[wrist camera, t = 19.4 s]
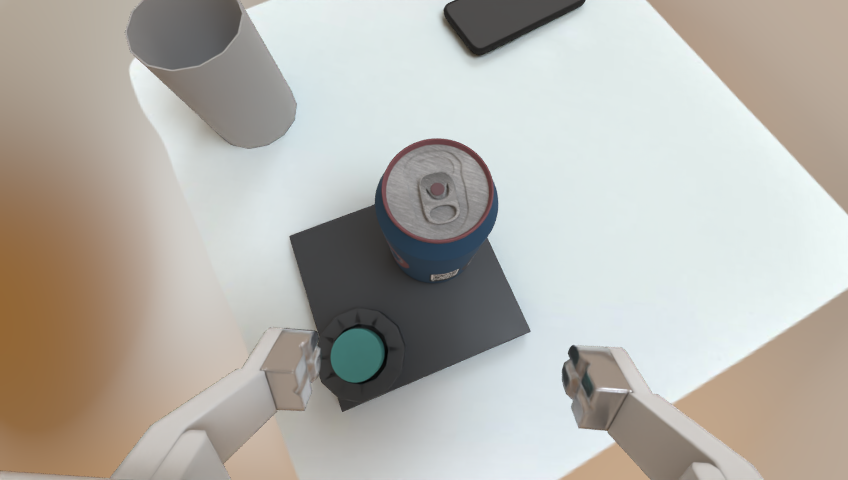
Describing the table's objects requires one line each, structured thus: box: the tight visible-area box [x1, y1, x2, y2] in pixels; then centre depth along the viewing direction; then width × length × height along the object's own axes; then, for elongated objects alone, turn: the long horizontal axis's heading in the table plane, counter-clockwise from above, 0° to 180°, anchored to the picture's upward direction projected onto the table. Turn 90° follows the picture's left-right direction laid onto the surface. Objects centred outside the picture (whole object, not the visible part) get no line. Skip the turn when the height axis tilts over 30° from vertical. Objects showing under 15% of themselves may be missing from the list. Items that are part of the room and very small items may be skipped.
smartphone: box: [444, 0, 585, 55], centre depth 36 cm, size 7×1×15 cm
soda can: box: [375, 139, 498, 283], centre depth 22 cm, size 7×7×12 cm
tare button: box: [331, 328, 385, 383], centre depth 24 cm, size 4×4×2 cm
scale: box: [289, 205, 530, 412], centre depth 27 cm, size 15×16×3 cm
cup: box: [125, 0, 297, 149], centre depth 28 cm, size 8×8×10 cm
